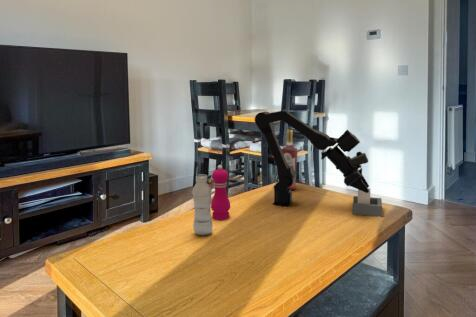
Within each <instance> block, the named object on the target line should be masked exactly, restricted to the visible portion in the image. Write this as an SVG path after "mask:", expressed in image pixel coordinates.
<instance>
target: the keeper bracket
mask: <svg viewBox="0 0 476 317" xmlns="http://www.w3.org/2000/svg"><path fill="white" fill-rule="evenodd" d="M352 200H353V201H352V204H351V206H352V207H351V209H352V210H351V215H359V216H367V215H368V216H370V217H378V216H381V217H382V212H383V202H382V201H383V200H382V197H372V196H370V204H361V203H357V202H358V195H354V196H353V198H352ZM368 216H367V217H368Z"/></svg>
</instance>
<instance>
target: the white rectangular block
mask: <svg viewBox="0 0 476 317" xmlns="http://www.w3.org/2000/svg"><path fill="white" fill-rule="evenodd" d="M368 190H369V192H368V193H366V192H363V191H361V190H359V189H357V196H358V202H357V203H361V204H370V197H371V188H370V187H368Z"/></svg>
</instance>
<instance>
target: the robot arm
mask: <svg viewBox="0 0 476 317" xmlns="http://www.w3.org/2000/svg"><path fill="white" fill-rule="evenodd" d="M254 116H255V117H254V122H255V124H256V126H257V128H258V130H259V131H260V132H261V134H262V135H263V137H265V141H266V143H267V146H268V148H269V151H270V154H271V155H272V157H273V160H274V163H275V165H276V170H277V179H278V181H277V182H276V183H275V184H274V185H273V189H274V191H273V194H274V195H273V198H274V199H273V200H274V201H273V202H272V205H275V206H284V207H289V206H290V205H291V204H292V203H293V192H292V190H291V189H289V187H290V186H292V184H293V183H294V182H295V180H297V179H296V178H297V176H296V175H298V174H297V171H296V172H295V171H294V167H293V165H292V166H289V165H288V164H287V162H286V160H285V157H284V155H283V152H282V148H281V145H280V143H279V140H278V137H277V135H276V132H275V126H274V122H279V121H283V122H284V123H286V124H287V125H288V126H290V127H291V128H293V129H294V130H295V131H297V132H298V133H300V134H301V135H302V136H304V137H306V139H307V140H309V142H310V143H311V144H312V145H313V146H314V148H316V149H318V150H319V151H321V153H320V154H321V158H320V159H321V160H324V159H325V158H327V159H328V160H329V161H330V163H332V164H333V165H334V166H335V169H336V171H339V172H340V173H341V174H342V175H343V177H344V179H343V183H344V185H345V186H347V187H352V188H353V189H357V190H358V189H359V190H361V191H363V192H366V193H368V192H369V190H368V188H370V185H369V183H368V181H367V180H366V179H365V176H364V175H363V168H362V165H363V164H368V163H369V158H368V156H367V154H366V153H365V152H361V151H357V152H356V154H355V156H353V157H350V156H349V155H346V154H345V152H348V153H350V152H351V151H352V150H353V149H354V148H356V147H357V146H358V145H359V144H361V141H360V140H359V138H358V137H357V136H356V135H355V134H353V133H352V132H351V131H350V130H348V129H346V130H345V131H344V132H343V133H342V135H340V136H339V137H331V136H329V135H328V134H327V133H324V132H323V131H320V130H317V129H315V128H313V127H311V126H309V124H307V123H305V122H304V121H303V120H301V119H299V118H298V117H296V116H295V115H294V114H293V113H291V112H290V111H289V110H287V109H282V110H278V111H273V112H269V111H267V110H265V111H260V112H258V113H257V114H256V115H254ZM324 150H325V151H324Z"/></svg>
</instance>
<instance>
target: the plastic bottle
mask: <svg viewBox="0 0 476 317" xmlns="http://www.w3.org/2000/svg"><path fill="white" fill-rule="evenodd" d="M195 182H196V183H195V185H194V186H193V188H192V191H191V192H192V199H193V206H194V217H193V218H194V219H193V226H192V227H193V232H194V233H195V235H198V236H208V235H210V234H211V233H212V232H213V227H214V226H213V220H212V212H211V202H212V188H211V185H209V184H208V174H204V173H201V174H196V175H195Z"/></svg>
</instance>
